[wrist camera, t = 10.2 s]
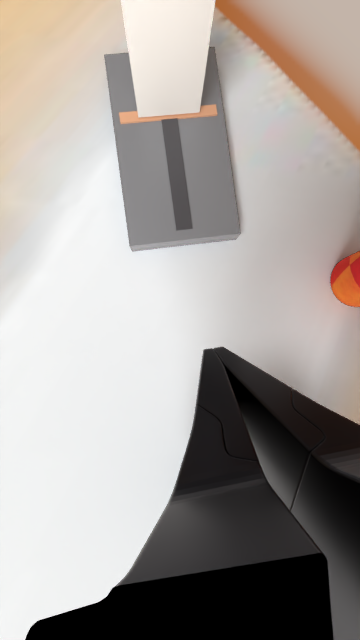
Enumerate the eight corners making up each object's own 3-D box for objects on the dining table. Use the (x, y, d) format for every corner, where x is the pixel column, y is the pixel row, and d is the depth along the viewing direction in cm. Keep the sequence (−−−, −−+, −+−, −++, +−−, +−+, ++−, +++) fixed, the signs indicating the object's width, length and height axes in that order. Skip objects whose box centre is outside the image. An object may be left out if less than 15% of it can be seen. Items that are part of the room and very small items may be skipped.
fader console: (235, 239, 23) (240, 232, 21) (132, 251, 22) (129, 245, 21) (211, 64, 23) (214, 44, 21) (108, 72, 22) (103, 52, 21)
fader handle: (199, 112, 21) (232, -119, 10) (138, 117, 21) (103, -114, 10) (195, 82, 21) (223, -180, 10) (134, 87, 21) (94, -179, 10)
